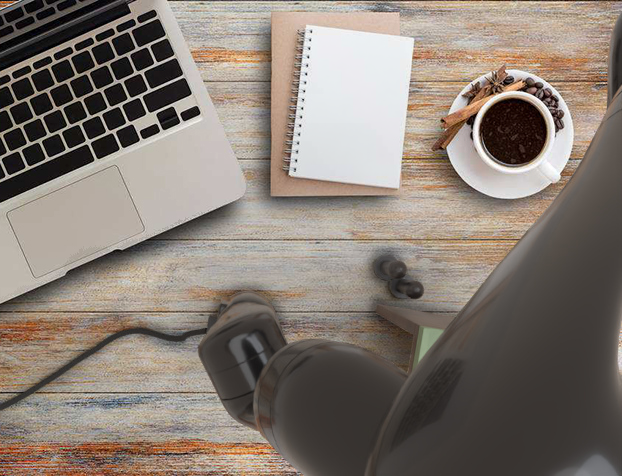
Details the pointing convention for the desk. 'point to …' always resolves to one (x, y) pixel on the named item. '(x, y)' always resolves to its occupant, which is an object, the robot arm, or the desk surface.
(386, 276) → the grey pawns
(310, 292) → the desk surface
